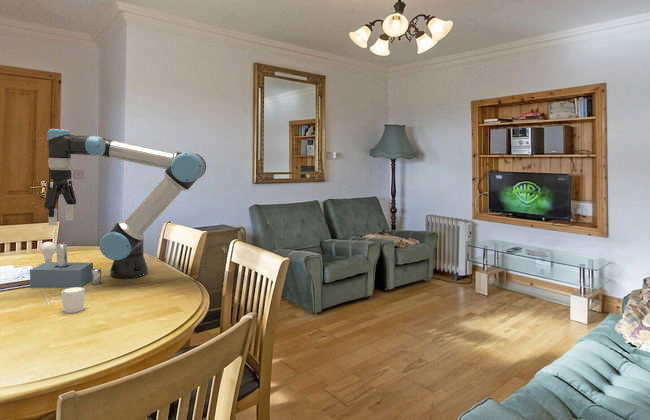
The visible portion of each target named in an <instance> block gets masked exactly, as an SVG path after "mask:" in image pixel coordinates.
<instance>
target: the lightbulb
mask: <svg viewBox="0 0 650 420" xmlns="http://www.w3.org/2000/svg"><path fill="white" fill-rule="evenodd" d="M39 251H40V253H41V254H42V256H43V258H44V261H45V262H44V263H46V262H53V257H54V254H55V253H56V252H57V249H56V243H54V242H52V241H45V242H43V243H42V244H41V245H40V246H39Z"/></svg>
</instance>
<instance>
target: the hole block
mask: <svg viewBox="0 0 650 420" xmlns="http://www.w3.org/2000/svg"><path fill="white" fill-rule="evenodd" d="M92 269H94V262H77V261H76V262H72V261H71V262H68V261H67V267H66V268H57V261H56V262H55V261H52V262H46V263H45V262H43V263H42V264H39V265H37V266H35V267H33V268H31V269H29V285H30V287H29V288H33V289H34V288H40V289H41V288H44V289H45V288H51V289H53V288H57V289H58V288H63V289H66V288H71V287H83V286H85V285H86V284H88V283H89V282H91V270H92Z"/></svg>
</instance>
